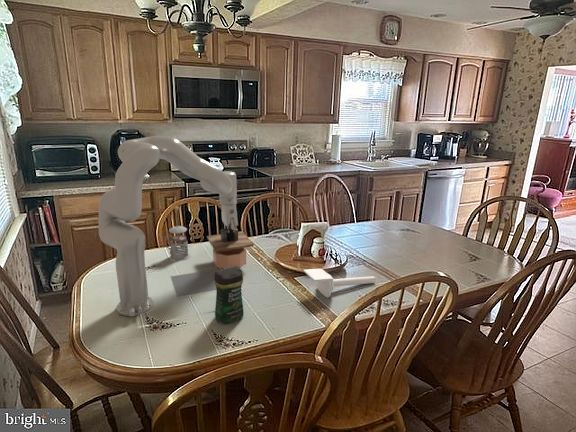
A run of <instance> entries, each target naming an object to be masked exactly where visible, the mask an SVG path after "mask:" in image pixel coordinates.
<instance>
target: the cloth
mask: <svg viewBox="0 0 576 432" xmlns="http://www.w3.org/2000/svg"><path fill="white" fill-rule="evenodd" d="M234 228H235V229H234V241H227V233H228V231H227V229H224V228H222V229H221V228H220V234H213V235H212V234H211V235H207V236H206V239H207V241H208V243H210V245H211V247H212V249H214V250H215V252H218V251H225V250H232V249H238V248H245V249H246V248H249V247H254V242H252V241H251V239H249V237H248V236H247V235H246V234H245V233H244V232H243V230H242V231H239V229H238V228H237V226H236V227H235V226H234ZM229 229H230V228H229Z"/></svg>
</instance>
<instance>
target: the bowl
mask: <svg viewBox="0 0 576 432" xmlns="http://www.w3.org/2000/svg"><path fill="white" fill-rule="evenodd" d="M212 258H213V259H212V260H213V264H214V266H215V267H216V268H218V269H219V268H220V269H226V268H230V267H235V266H237V267H238V268H242V266H243V265H247V248H246V247H245V248H238V249H232V250H225V251H218V252H215V250H214V248H212Z"/></svg>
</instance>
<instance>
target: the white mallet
mask: <svg viewBox="0 0 576 432" xmlns="http://www.w3.org/2000/svg"><path fill="white" fill-rule="evenodd" d="M302 271H303V273H305V274H306V275H307V277H309V278H310V279H311V280H312V281H313V282H316V286H315V287H317V288H316V289H317V290H318V291H319V292H320V293H321V294H322V295H323V296H324V297H325V298H326V299H327V298H329V297H331V294H332V292H333V290H334V287H341V286H342V287H345V286H357V285H368V284H375V283H376V277H375V276H374V275H373V276H372V275H371V276H360V277H359V276H358V277H345V278H333V277H332V275H331V274H329V273H328V272H327V271H325V270H324V269H323V268H311V269H303V270H302Z"/></svg>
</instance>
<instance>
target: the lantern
mask: <svg viewBox="0 0 576 432" xmlns="http://www.w3.org/2000/svg"><path fill="white" fill-rule="evenodd" d="M174 210H176V212H178V210H180V209H179V206H174ZM176 221H177V222H176V223H177V226H173V227H171V228H170V229H169V230H168V231H169V233H168V234H166V235H165V236H164V239H163V244H164V247H166V249H168V250H170V255H169V260H170V261H173V262H181V261H182V262H183V261H187V260H189V259H191V257H192V256H191V254H190V253H189V245H188V243H189V242H188V239H187V236H185V235H180V234H182V233H186V232H187V231H188V228H187V227H185V226H182V225H179V221H178V218H176ZM171 234H176V235H171ZM168 237H170V243H169V244H170V247H168V246H167V244H166V243H167V239H168Z"/></svg>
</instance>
